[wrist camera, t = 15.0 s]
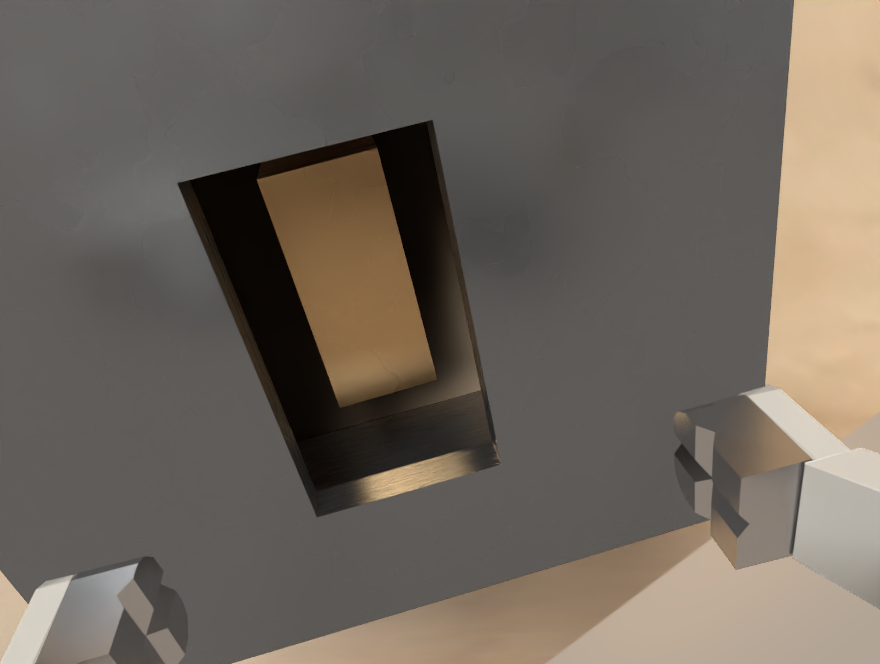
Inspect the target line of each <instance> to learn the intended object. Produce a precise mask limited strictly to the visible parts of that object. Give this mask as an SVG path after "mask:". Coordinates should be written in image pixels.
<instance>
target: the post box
mask: <svg viewBox="0 0 880 664" xmlns="http://www.w3.org/2000/svg"><path fill="white" fill-rule="evenodd" d="M793 6H794V0H0V570H1V572H2V573H3V574H4V575H5V577H6V578H7V579H8V580H9V581H10V583H11V584H12V585H13V586H14V587H15V589H16V590H17V591H18V592H19V593H20V595H21V596H22V597H23V598H24V600H25V601H26V602H27V603H28V604H29V602H30V600H31V598H32V596H33V594H34V592H35V590H36V589H37V588H38V587H39V586H41V585H42V584H43V583H44V582H45V581H49V580H53V579H57V578H61V577H66V576H70V575H74V574H78V573H79V572H83V571H87V570H91V569H95V568H99V567H103V566H107V565H111V564H115V563H119V562H123V561H127V560H131V559H135V558H139V557H143V556H148V557H154V559H155V560H156V561H157V563H158V564H159V565H160V567H161V568H162V570H163V571H164V572H163V576H162V580H161V583H160V584H162V585H164V586H166V587H169V588H171V589H173V590H176V591H177V593H178V595H179V596H180V598H181V599H182V601H183V604H184V607H185V610H186V613H187V617H188V635H189V636H188V642H187V647H186V653H185V655H184V657H183V658H182V659H181V661H180V662H179V663H178V664H231V663H235V662H238V661H241V660H245V659H248V658H251V657H255V656H258V655H261V654H265V653H268V652H271V651H275V650H278V649H281V648H285V647H288V646H291V645H295V644H298V643H301V642H305V641H308V640H311V639H315V638H318V637H321V636H325V635H328V634H331V633H335V632H338V631H341V630H345V629H348V628H351V627H355V626H358V625H361V624H365V623H368V622H371V621H375V620H378V619H381V618H385V617H388V616H391V615H395V614H398V613H401V612H405V611H408V610H411V609H415V608H418V607H421V606H424V605H428V604H431V603H434V602H438V601H441V600H444V599H448V598H451V597H454V596H458V595H461V594H464V593H468V592H471V591H474V590H478V589H481V588H484V587H488V586H491V585H494V584H498V583H501V582H504V581H508V580H511V579H514V578H518V577H521V576H524V575H528V574H531V573H534V572H538V571H541V570H544V569H548V568H551V567H554V566H558V565H561V564H564V563H568V562H571V561H574V560H578V559H581V558H584V557H588V556H591V555H594V554H598V553H601V552H604V551H607V550H611V549H614V548H617V547H621V546H624V545H627V544H631V543H634V542H637V541H641V540H644V539H647V538H651V537H654V536H657V535H661V534H664V533H667V532H671V531H674V530H677V529H681V528H684V527H687V526H691V525H694V524H697V523H701V522H704V521H707V520H710V519H708V518H705V517H703V516H701V515H699V514H697V513H695V512H694V511H693V509H692V508H691V506H690V505H689V503H688V502H687V500H686V498H685V496H684V494H683V493H682V491H681V489H680V486H679V483H678V479H677V476H676V472H675V463H674V453H675V452H676V451H677V449H678V448H679V446H680V445H681V443H682V442H681V441H680V440H679V438H678V437H677V436H676V435H675V433H674V418H675V415H676V412H678V411H681V410H685V409H688V408H692V407H695V406H699V405H703V404H706V403H710V402H713V401H717V400H720V399H724V398H728V397H731V396H735V395H739V394H740V393H744V392H747V391H751V390H754V389H758V388H761V387H765V377H766V363H767V350H768V337H769V324H770V310H771V297H772V284H773V271H774V257H775V244H776V231H777V218H778V204H779V191H780V178H781V165H782V151H783V138H784V125H785V112H786V98H787V85H788V72H789V59H790V46H791V32H792V19H793ZM425 121H426V122H427V127H428V132H429V137H430V141H431V146H432V151H433V156H434V161H435V166H436V171H437V176H438V181H439V186H440V191H441V195H442V200H443V205H444V210H445V215H446V220H447V225H448V230H449V235H450V240H451V244H452V249H453V254H454V259H455V264H456V269H457V274H458V279H459V284H460V289H461V294H462V298H463V303H464V308H465V313H466V318H467V323H468V328H469V333H470V338H471V343H472V347H473V352H474V357H475V362H476V367H477V372H478V377H479V382H480V387H481V391H478V392H474V393H471V394H467V395H463V396H460V397H456V398H453V399H449V400H446V401H442V402H438V403H435V404H431V405H428V406H424V407H420V408H417V409H413V410H410V411H406V412H403V413H399V414H395V415H392V416H388V417H385V418H381V419H377V420H374V421H370V422H367V423H363V424H359V425H356V426H352V427H349V428H345V429H342V430H338V431H334V432H331V433H327V434H324V435H320V436H316V437H313V438H309V439H306V440H302V441H299V442H296V440H295V437H294V435H293V433H292V430H291V428H290V425H289V423H288V420H287V418H286V415H285V413H284V410H283V408H282V406H281V403H280V401H279V398H278V396H277V393H276V391H275V388H274V386H273V383H272V381H271V378H270V376H269V374H268V371H267V369H266V366H265V364H264V361H263V359H262V356H261V354H260V351H259V349H258V347H257V344H256V342H255V339H254V337H253V334H252V332H251V329H250V327H249V324H248V322H247V320H246V317H245V315H244V312H243V310H242V307H241V305H240V302H239V300H238V297H237V295H236V292H235V290H234V288H233V285H232V283H231V280H230V278H229V275H228V273H227V270H226V268H225V265H224V263H223V261H222V258H221V256H220V253H219V251H218V248H217V246H216V243H215V241H214V238H213V236H212V233H211V231H210V229H209V226H208V224H207V221H206V219H205V216H204V214H203V211H202V209H201V206H200V204H199V202H198V199H197V197H196V194H195V192H194V189H193V187H192V184H191V182H190V180H191V179H195V178H199V177H204V176H208V175H212V174H216V173H220V172H224V171H228V170H232V169H236V168H240V167H244V166H248V165H252V164H256V163H260V162H264V161H268V160H272V159H276V158H280V157H284V156H288V155H292V154H296V153H300V152H304V151H308V150H312V149H316V148H320V147H325V146H329V145H333V144H337V143H341V142H345V141H349V140H353V139H357V138H361V137H365V136H369V135H373V134H377V133H381V132H385V131H389V130H393V129H397V128H401V127H405V126H409V125H413V124H417V123H421V122H425Z"/></svg>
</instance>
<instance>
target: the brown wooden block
mask: <svg viewBox="0 0 880 664" xmlns="http://www.w3.org/2000/svg"><path fill="white" fill-rule="evenodd" d="M257 182H258V184H259V187H260V190H261V193H262V195H263V198H264V201H265V204H266V206H267V209H268V212H269V215H270V217H271V220H272V223H273V226H274V228H275V231H276V234H277V237H278V239H279V242H280V245H281V248H282V250H283V253H284V256H285V259H286V261H287V264H288V267H289V270H290V272H291V275H292V278H293V280H294V283H295V286H296V289H297V291H298V294H299V297H300V300H301V302H302V305H303V308H304V311H305V313H306V316H307V319H308V322H309V324H310V327H311V330H312V333H313V335H314V338H315V341H316V344H317V346H318V349H319V352H320V355H321V357H322V360H323V363H324V366H325V368H326V371H327V374H328V377H329V379H330V382H331V385H332V387H333V390H334V393H335V396H336V398H337V401H338V404H339V407H340V408H341V407H345V406H348V405H352V404H355V403H359V402H362V401H366V400H369V399H373V398H376V397H380V396H383V395H387V394H390V393H393V392H397V391H400V390H404V389H407V388H411V387H414V386H418V385H421V384H425V383H428V382H432V381H435V380H437V377H436V373H435V369H434V365H433V361H432V357H431V353H430V350H429V346H428V342H427V338H426V334H425V330H424V326H423V323H422V319H421V315H420V311H419V307H418V303H417V299H416V296H415V292H414V288H413V284H412V280H411V276H410V272H409V269H408V265H407V261H406V257H405V253H404V249H403V245H402V242H401V238H400V234H399V230H398V226H397V222H396V218H395V215H394V211H393V207H392V203H391V199H390V195H389V191H388V188H387V184H386V180H385V176H384V172H383V168H382V164H381V161H380V157H379V153H378V149H377V147H376V144H375V142H374V140H373V138H372V136H371V135H369V136H365V137H361V138H357V139H353V140H349V141H345V142H341V143H337V144H333V145H329V146H325V147H320V148H316V149H312V150H308V151H304V152H300V153H296V154H292V155H288V156H284V157H280V158H276V159H272V160H268V161H264V162H261V166H260V170H259V173H258V177H257Z"/></svg>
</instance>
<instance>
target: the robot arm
mask: <svg viewBox="0 0 880 664" xmlns="http://www.w3.org/2000/svg"><path fill="white" fill-rule="evenodd" d="M674 433H675V435H676V436H677V437H678V438H679V440H680V441H681V442H682V443H681V445H680V446H679V448H678V449H677V451H676V452H675V453H674V463H675V472H676V476H677V479H678V483H679V486H680V489H681V491H682V493H683V494H684V496H685V498H686V500H687V502H688V503H689V505H690V506H691V508H692V509H693V511H694V512H695V513H697V514H699V515H701V516H703V517H705V518H708V519H710V520H711V536H712V537H713V539H714V540H715V542H716V543H717V544H718V546H719V547H720V548H721V550H722V551H723V553H724V554H725V555H726V557H727V558H728V560H729V561H730V562H731V563H732V565H733V566H734V568H735V569H736V570H737V569H741V568H745V567H749V566H753V565H757V564H761V563H765V562H769V561H773V560H777V559H780V558H784V557H788V556H792V555H793V559H794V560H796V561H798V562H799V563H801V564H803V565H805V566H806V567H808V568H810V569H812V570H813V571H815V572H817V573H818V574H820V575H822V576H823V577H825V578H827V579H829V580H830V581H832V582H834V583H836V584H837V585H839V586H841V587H843V588H844V589H846V590H848V591H849V592H851V593H853V594H854V595H856V596H858V597H860V598H861V599H863V600H865V601H867V602H868V603H870V604H872V605H873V606H875V607H877V608H879V609H880V454H879V453H876V452H873V451H870V450H867V449H864V448H861V447H860V448H857V449H853V450H850V449H849V448H848V447H847V446H846V445H844V444H843V443H842V442H841V441H840V440H839V439H837V438H836V437H835V436H834V435H833V434H832V433H831V432H829V431H828V430H827V429H826V428H825V427H824V426H822V425H821V424H820V423H819V422H818V421H817V420H815V419H814V418H813V417H812V416H811V415H810V414H809V413H807V412H806V411H805V410H804V409H803V408H802V407H800V406H799V405H798V404H797V403H796V402H795V401H793V400H792V399H791V398H790V397H789V396H788V395H787V394H785V393H784V392H783V391H782V390H781V389H779V388H778V387H775V386H772V385H768V386H765V387H761V388H758V389H754V390H751V391H747V392H744V393H740V394H739V395H735V396H731V397H728V398H724V399H720V400H717V401H713V402H710V403H706V404H703V405H699V406H695V407H692V408H688V409H685V410H681V411H678V412H676V415H675V418H674ZM163 572H164V571H163V570H162V568H161V567H160V565H159V564H158V563H157V561H156V560H155V559H154V557H148V556H143V557H139V558H135V559H131V560H127V561H123V562H119V563H115V564H111V565H107V566H103V567H99V568H95V569H91V570H87V571H83V572H79V573H78V574H74V575H70V576H66V577H61V578H57V579H53V580H49V581H45V582H44V583H43V584H42V585H41V586H39V587H38V588H37V589H36V590H35V592H34V594H33V596H32V598H31V600H30V602H29V605H28V607H27V609H26V611H25V613H24V615H23V617H22V619H21V621H20V623H19V625H18V627H17V629H16V632H15V634H14V636H13V638H12V640H11V642H10V644H9V646H8V648H7V650H6V652H5V654H4V657H3V659H2V661H1V663H0V664H178V663H179V662H180V661H181V659H182V658H183V657H184V655H185V653H186V647H187V642H188V636H189V635H188V617H187V613H186V610H185V607H184V604H183V601H182V599H181V598H180V596H179V595H178V593H177V591H176V590H173V589H171V588H169V587H166V586H164V585H162V584H160V583H161V580H162V576H163Z"/></svg>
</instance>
